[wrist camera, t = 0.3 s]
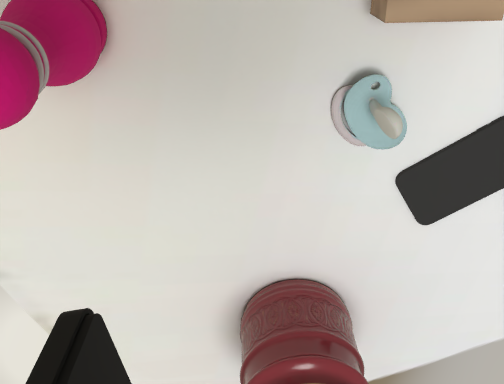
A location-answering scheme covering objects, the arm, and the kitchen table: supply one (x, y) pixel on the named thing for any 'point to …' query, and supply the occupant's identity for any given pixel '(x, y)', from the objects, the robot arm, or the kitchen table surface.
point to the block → (437, 10)
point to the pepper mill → (45, 50)
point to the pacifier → (369, 114)
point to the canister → (298, 337)
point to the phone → (455, 175)
